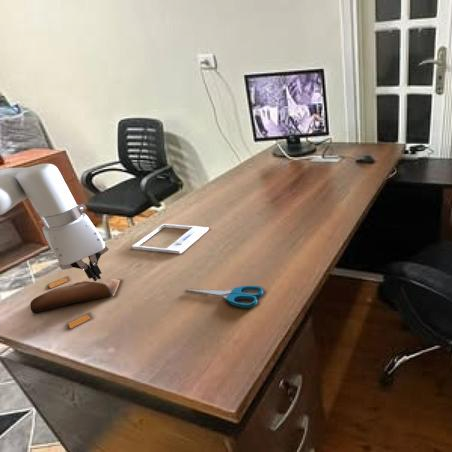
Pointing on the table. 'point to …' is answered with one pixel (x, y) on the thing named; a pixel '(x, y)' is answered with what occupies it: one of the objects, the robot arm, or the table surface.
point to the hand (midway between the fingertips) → (96, 277)
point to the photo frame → (178, 244)
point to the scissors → (236, 295)
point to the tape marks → (77, 321)
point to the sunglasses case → (74, 294)
